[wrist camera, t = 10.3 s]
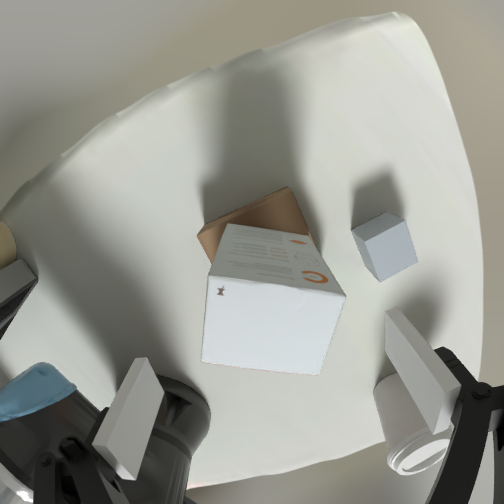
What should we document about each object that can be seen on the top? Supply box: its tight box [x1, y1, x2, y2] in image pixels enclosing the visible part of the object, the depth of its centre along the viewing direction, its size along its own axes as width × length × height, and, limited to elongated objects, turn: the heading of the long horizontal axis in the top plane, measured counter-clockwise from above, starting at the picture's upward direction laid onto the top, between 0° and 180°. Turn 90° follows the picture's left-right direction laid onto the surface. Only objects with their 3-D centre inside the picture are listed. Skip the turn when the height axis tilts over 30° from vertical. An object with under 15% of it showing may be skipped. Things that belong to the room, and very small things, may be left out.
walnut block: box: [197, 187, 316, 264], centre depth 32 cm, size 10×10×5 cm
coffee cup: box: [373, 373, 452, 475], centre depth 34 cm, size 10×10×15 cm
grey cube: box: [351, 212, 418, 282], centre depth 32 cm, size 5×5×5 cm
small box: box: [201, 223, 346, 375], centre depth 24 cm, size 8×6×13 cm
